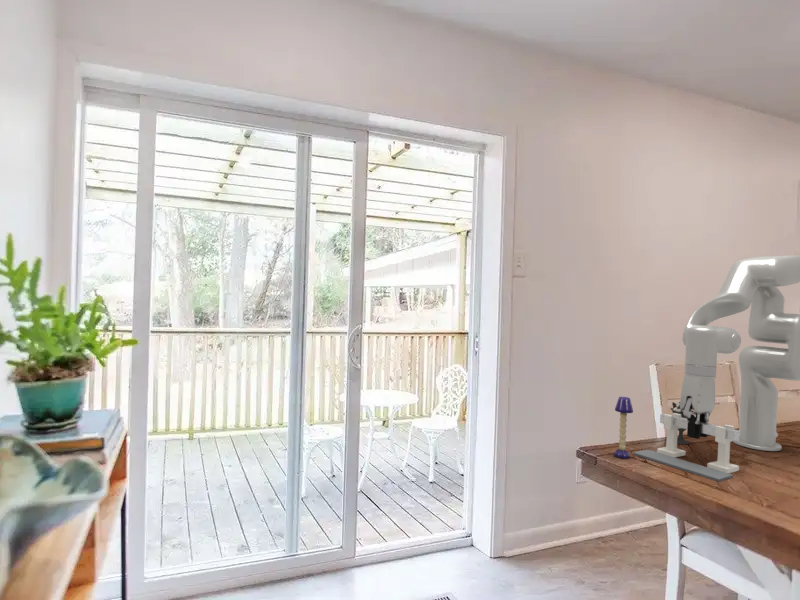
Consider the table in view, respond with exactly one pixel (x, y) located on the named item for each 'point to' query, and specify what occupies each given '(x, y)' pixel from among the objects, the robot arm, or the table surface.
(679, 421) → the rail
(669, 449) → the rack
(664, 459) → the mat
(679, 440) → the sundae
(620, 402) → the toy lamp
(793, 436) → the table surface
